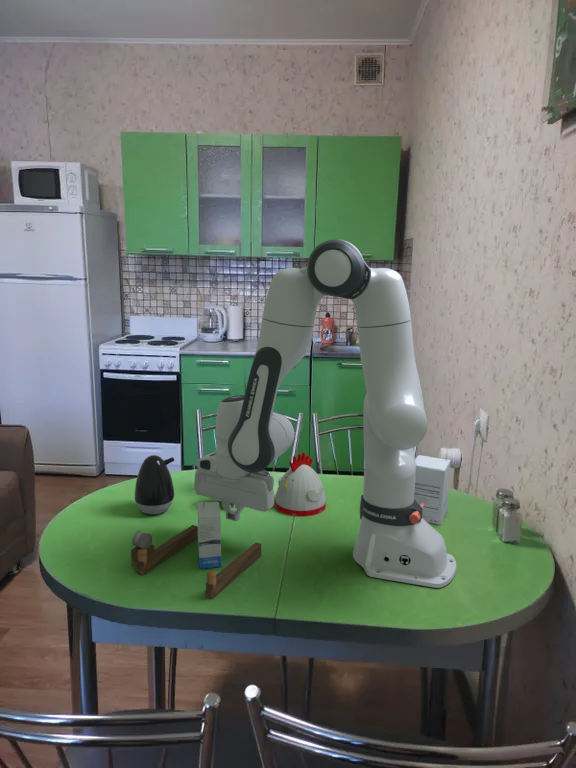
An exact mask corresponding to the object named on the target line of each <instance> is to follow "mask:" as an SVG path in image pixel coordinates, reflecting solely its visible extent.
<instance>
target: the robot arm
mask: <svg viewBox="0 0 576 768" xmlns="http://www.w3.org/2000/svg"><path fill="white" fill-rule="evenodd" d="M326 296H329V297H333V298H334V297H335V298H341V299H342V298H343V299H346V300H347V299H348V300H351V301H352V304H353V307H354V311H355V317H356V329H357V336H358V346H359V347H358V348H359V354H360V363H361V367H362V373H363V378H364V384H365V389H366V394H365V396H364V399H363V405H362V406H363V410H362V411H363V412H362V413H363V421H362V422H363V423H362V424H363V425H362V426H363V429H362V430H363V453H364V455H363V456H364V457H363V458H364V467H363V468H364V470H363V488H362V491H363V492H362V495H361V496H360V500H359V501H360V502H359V519H360V524H359V531H358V535H357V539H356V542H355V543H356V544H355V546H354V548H353V551H352V558H353V560H355V562H356V563H357V564H358V565H359V566H361V567H362V568H363V569H364V573H366V575H367V577H368V576H369V577H371V578H377V579H381V580H387V581H394V582H399V583H405V584H411V585H416V586H417V585H418V586H423V587H430V588H434V589H435V588H436V589H440V588H443V587H445V586H447V585H448V584H450V583H451V582H452V581H453V579H454V577H455V575H456V573H457V561H456V558H455V557H454V556H453V555H452V554H450V553H448V552H447V546H446V541H445V539H444V537H443V535H442V534H441V533H439V531H438V530H437V529H435V528H434V527H433V526H432V525H431V524H430V523H428V522H426V521H425V520H424V519H423V518H422V511H423V503H422V504H421V505H419V504H418V503H417V502H416V501H415V499H414V491H415V476H416V463H415V459H416V457H415V449H414V448H415V447H416V446H418V445H419V444H420V443H421V442H422V441H423V440H424V439H425V437H426V435H427V431H428V419H427V414H426V409H425V401H424V397H423V392H422V387H421V381H420V376H419V371H418V367H417V362H416V356H415V347H414V346H415V345H414V336H413V325H412V315H411V309H410V303H409V298H408V297H409V296H408V293H407V289H406V285H405V282H404V280H403V277H402V275H401V274H400V273H399V272H398V271H396V270H394V269H391V268H389V267H378V268H374V267H373V268H372V267H370V266H369V265H368V264H367V262H366V261H365V260H364V258H363V254H362V253H361V252H360V250H359V248H358V247H356V245H354V244H352V243H351V242H350V241H346V240H344V239H329V240H325V241H323V242H321V243H319V244H318V245H317V246H315V247H314V249H313V250H312V251H311V253H310V254H309V257H308V259H307V265H306V266H305V267H303V268H302V267H286V268H283V269H280V270H278V271H277V272H276V273H274V275H273V277H272V279H271V282H270V285H269V287H268V289H267V294H266V298H265V301H264V306H263V311H262V318H261V323H260V325H261V326H260V331H259V335H258V336H259V337H258V341H257V346H256V351H255V353H254V357H253V361H252V363H251V364H252V365H251V368H250V370H249V375H248V380H247V384H246V387H245V388H246V389H245V393H244V394H238V395H233V396H229V397H226V398H224V399H222V400H220V402H219V403H218V407H217V411H216V418H215V419H216V420H215V436H216V440H217V442H216V447H215V451H214V452H212V453H208V454H206V455H204V456H202V457H200V458H199V459H197V460H196V467H197V468H196V470H195V473H194V483H193V489H194V491H195V493H196V495H198V496H202V497H206V498H208V499H209V498H210V499H213V500H217V501H220V502H222V504H221V506H222V508H223V510H224V512H225V519H226V520H229V521H230V520H231V521H233V522H238V521H240V519H241V513H242V512H243V509H245V508H248V509H252V510H254V511H255V510H256V511H260V512H262V513H266V512H268V511H269V510H270V509H271V508H273V506H275V492H274V487H275V486H274V485H275V483H274V482H275V479H274V476H273V475H272V474H271V473H269V471H267V470H266V469H267V468H268V466H270V465H271V463H273V461H275V460H277V458H279V457H280V456H282V455H283V454H284V453H285V452H287V451H288V450H289V449H290V448H291V447H292V446H293V444H294V441H295V439H296V438H295V437H296V432H295V427H294V425H293V423H292V422H291V421H290V419H289V418H288V417H287V416H285V415H283V414H281V413H278V412H274V407H275V404H276V400H277V399H276V398H277V394H278V391H279V389H280V385H281V383H282V382H283V380H284V379H285V377H286V376H287V375H288V374H289V372H290V371H291V370H292V369H293V368H294V367H295V366H296V365H297V364H298V363H299V362H301V360H302V359H303V358H304V357H305V356H306V355H307V351H308V349H309V347H310V343H311V342H312V341H311V340H312V337H313V333H314V325H315V321H316V314H317V310H318V307H319V303H320V302H321V300H322V299H323V298H324V297H326ZM230 503H232V504H234V508H235V509H236V510H233V508H232V507H231V505H230Z"/></svg>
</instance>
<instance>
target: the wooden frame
mask: <svg viewBox="0 0 576 768" xmlns="http://www.w3.org/2000/svg"><path fill="white" fill-rule="evenodd" d="M153 540H154V538H153V535H152V534H150V533H147V532H143V531H141V530H140V531H139V530H138V531H137V532H135V534H133V537H132V541H131V542H132V546H134V547H133V548H131V549H130V559H131V561H130V562H131V568H134V569H136V572H137V574H138V575H141V576H144V575H147V574H148V573H149V572H150V571H152V570H153V569H155V568H156V567H157V566H159V565H160V564H162V563H163V562H164V561H166V560H168V559H169V558H171V557H172V556H174V555H175V554H177V553H178V552H179V551H181V550H183V549H184V548H186V547H187V546H188V545H189V544H191V543H193V542H194V541H195V540H198V525H195V524H192V525H190V526H188V527H187V528H186V529H184V530H182V531H181V532H179V533H178V534H176V535H174V536H173V537H171V538H169V539H168V540H167V541H165V542H164V543H162V544H160V545H158V546H157V547H156V548H155V544H153ZM261 557H262V543H260V542H257V541H256V542H254V543H253V544H252V545H251V546H249V547H248V548H247V549H245V550H244V551H243V552H242V553H240V554H239V555H237V557H236V558H234V559H233V560H232V561H231V562H229V563H228V564H227V565H226V566H224V568H222V569H221V570H220V571H219V572H217V571H216V570H214V569H209V570H207V572H206V582H205V598H207V599H210V600H213V599H215V598H216V597H217V596H218V594H220V593H221V592H222V591H224V589H226V588H227V587H228V586H229V585H230V584H232V583H233V581H235V580H236V579H237V578H238V577H239V576H240V575H241V574H243V572H245V571H246V570H247V569H249V567H251V566H252V565H253V564H254V563H256V562H257V561H258V560H259V559H260V558H261ZM225 587H226V588H225Z"/></svg>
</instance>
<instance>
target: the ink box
mask: <svg viewBox="0 0 576 768" xmlns="http://www.w3.org/2000/svg"><path fill="white" fill-rule="evenodd" d="M221 524H222V523H221V510H220V502H219V501H206V502H205V501H204V502H203V501H202V502H198V503H197V526H198V538H197V544H198V545H197V546H198V562H199V569H201V570H202V569H209V568H211V569H212V568H220V567H222V530H221V529H222V527H221Z"/></svg>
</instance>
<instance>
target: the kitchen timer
mask: <svg viewBox="0 0 576 768" xmlns="http://www.w3.org/2000/svg"><path fill="white" fill-rule="evenodd" d="M313 460H314V458H312V457H310V455H308V454H306V453H305V452H303V451H302V453H297V456H295V455H293V456H292V462H291V461H288V464H289V466H290V468H289V469H287V471H286V472H285V473H284V474H283V475H282V476H280V477H279V478H278V481H277V482H278V487H277V490H276V493H275V496H274V507H275V509H276V510H277V511H278V512H279V513H280V512H281V513H282V514H285V515H287V516H292V517H312V516H316V515H319V514H321V513H323V512H324V511H325V510H326V508H327V498H326V492H325V488H324V486H323V482H322V480H321V478H320V477H319V475H318V474H317V472H316V471H315V470H314V469H313V468H312V464H313Z"/></svg>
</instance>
